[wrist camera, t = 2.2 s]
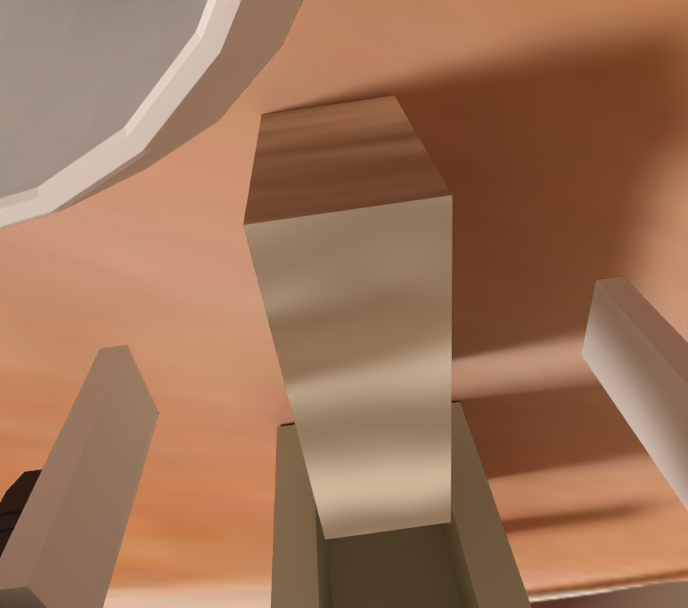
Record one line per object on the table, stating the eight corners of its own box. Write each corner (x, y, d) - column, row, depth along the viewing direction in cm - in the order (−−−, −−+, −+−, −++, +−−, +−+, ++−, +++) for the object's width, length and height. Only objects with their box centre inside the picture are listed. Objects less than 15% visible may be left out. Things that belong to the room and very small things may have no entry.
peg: (261, 113, 20) (243, 225, 12) (393, 94, 20) (452, 194, 12) (317, 379, 28) (325, 539, 21) (409, 366, 28) (450, 522, 21)
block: (277, 426, 30) (268, 687, 19) (460, 401, 29) (546, 650, 19) (300, 507, 34) (302, 751, 24) (458, 485, 34) (526, 721, 24)
